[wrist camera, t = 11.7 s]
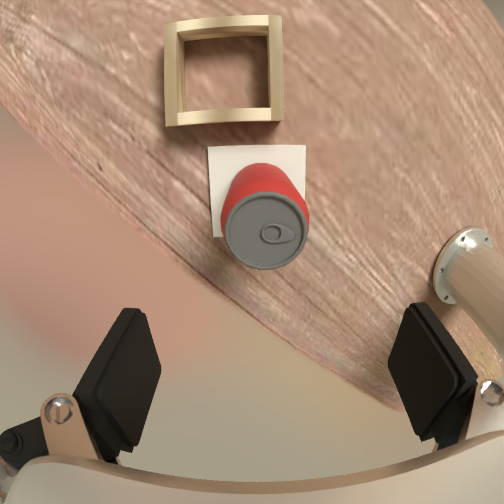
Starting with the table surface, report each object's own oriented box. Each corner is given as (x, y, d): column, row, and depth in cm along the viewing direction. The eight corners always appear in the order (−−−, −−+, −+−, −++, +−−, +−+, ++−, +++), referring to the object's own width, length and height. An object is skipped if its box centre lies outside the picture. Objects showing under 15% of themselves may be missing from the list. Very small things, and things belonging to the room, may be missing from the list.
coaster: (304, 145, 28) (305, 145, 28) (302, 233, 32) (302, 235, 32) (208, 146, 28) (207, 146, 28) (214, 235, 32) (213, 237, 32)
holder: (277, 26, 23) (281, 15, 19) (280, 121, 27) (284, 120, 24) (173, 33, 23) (164, 23, 19) (175, 126, 27) (165, 126, 24)
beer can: (286, 225, 31) (304, 281, 20) (226, 217, 31) (212, 270, 20) (297, 166, 29) (325, 192, 18) (233, 157, 28) (221, 177, 17)
